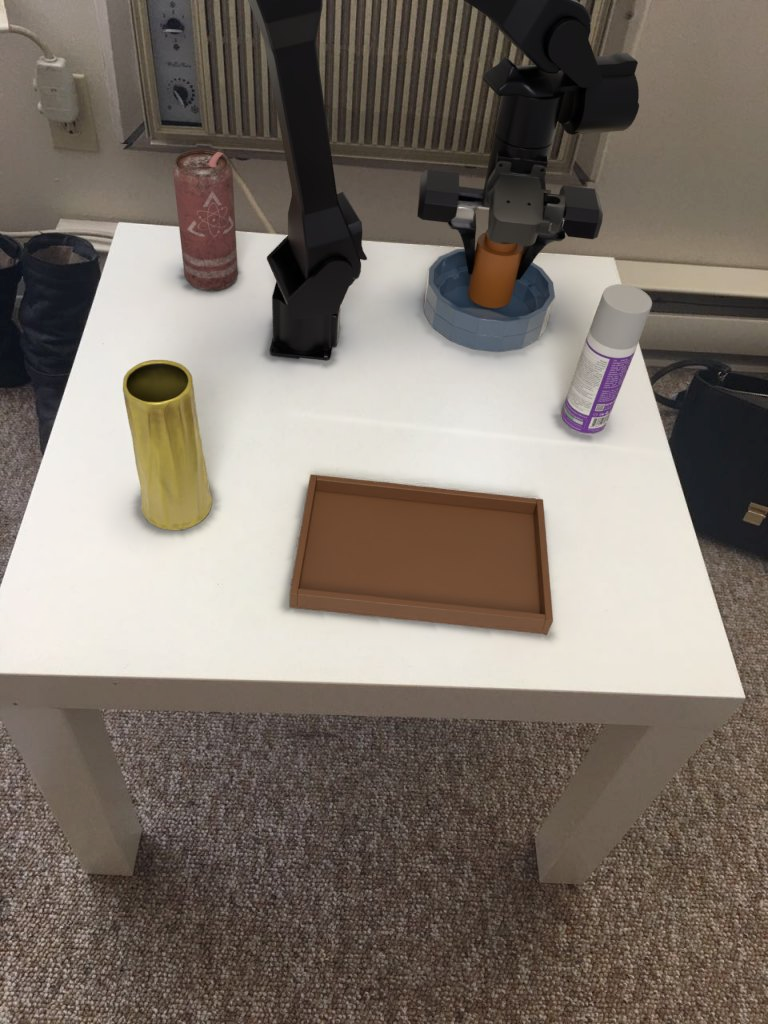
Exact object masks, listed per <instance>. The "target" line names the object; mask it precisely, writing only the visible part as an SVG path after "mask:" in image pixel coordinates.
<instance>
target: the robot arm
mask: <svg viewBox="0 0 768 1024" xmlns="http://www.w3.org/2000/svg"><path fill="white" fill-rule="evenodd" d="M247 1H248V4H249V6H250V7H249V8H250V9H251V11H252V14H253V17H254V19H255V21H256V24H257V26H258V29H259V32H260V33H261V36H262V39H263V44H264V51H265V55H266V60H267V61H266V62H267V66H268V71H269V77H270V82H271V86H272V92H273V98H274V103H275V109H276V112H277V119H278V124H279V129H280V134H281V139H282V145H283V151H284V156H285V162H286V167H287V172H288V178H289V182H290V183H289V184H290V188H291V198H290V202H289V206H288V211H287V236H285V237H284V239H283V240H282V241H280V242H279V243H278V244H277V245H276V246H275V248H274V249H272V250H271V252H270V253H268V255H267V256H266V261H267V264H268V266H269V268H270V270H271V273H272V275H273V277H274V279H275V284H274V288H273V291H272V296H271V315H272V317H271V318H272V321H271V322H272V324H271V325H272V339H271V343H270V347H269V355H270V356H273V357H281V358H289V359H298V360H299V359H308V360H315V361H316V360H317V361H326V362H328V361H329V360H331V358H332V352H333V348H336V347H337V346H338V340H339V335H340V323H341V322H340V321H341V306H342V303H343V302H344V299H345V297H346V295H347V292H348V290H349V288H350V287H351V286H352V285H353V284H354V282H355V281H356V280H358V279H359V278H360V275H361V272H362V262H361V261H367V260H368V257H367V254H366V253H365V251H364V249H363V242H362V241H363V223H362V220H361V219H360V217H359V215H358V214H357V212H356V211H355V208H354V207H353V205H352V204H351V202H350V201H349V198H348V196H347V195H346V194H345V191H341V192H339V193H338V191H337V186H336V179H335V172H334V171H335V170H334V164H333V163H334V162H333V156H332V149H331V142H330V135H329V127H328V122H327V114H326V113H327V112H326V107H325V100H324V99H325V98H324V93H323V85H322V79H321V78H322V77H321V71H320V63H319V57H318V51H317V37H318V32H319V27H320V22H321V18H322V12H323V7H324V5H323V4H324V3H323V1H324V0H247ZM463 2H466V3H467V4H468V5H470V6H472V8H475V9H476V10H477V11H479V12H481V13H482V14H484V15H485V16H486V17H487V19H488V20H489V21H490V22H491V23H492V24H493V25H494V26H495V27H496V28H497V29H498V30H499V31H500V32H501V33H502V35H504V37H505V38H507V40H508V41H509V42H510V43H511V44H512V45H513V46H514V47H516V48H517V50H519V52H521V53H522V54H523V55H524V56H525V57H527V59H528V60H529V61H531V63H532V64H530V65H529V64H528V65H516V64H515V63H513V61H512V60H510V59H509V57H507V56H504V57H502V58H501V60H500V61H499V62H498V63H497V64H496V65H494V66H492V67H491V68H489V69H488V70H487V71H486V72H485V73H483V75H482V80H483V82H484V83H485V84H486V85H487V86H488V87H489V88H490V89H491V90H492V91H493V92H494V93H495V94H496V95H497V96H498V97H500V102H499V106H498V112H497V117H496V122H495V129H494V132H493V138H492V144H491V149H490V152H489V153H490V154H489V159H488V164H487V170H486V175H485V181H484V185H483V188H476V187H469V186H468V187H467V186H460V172H453V171H447V170H437V169H428V168H427V169H426V170H425V171H424V172H423V173H422V174H421V175H420V182H419V189H418V191H419V192H418V199H417V200H418V202H417V212H416V213H417V214H416V217H417V218H419V219H420V220H422V221H430V222H439V223H446V224H447V227H448V228H449V229H451V230H456V231H457V232H458V233H459V235H460V237H461V241H462V244H463V249H464V250H465V256H466V262H467V268H468V274H471V275H472V272H473V268H474V258H475V247H476V235H477V210H484V211H488V218H487V219H488V220H487V221H488V223H487V229H488V232H487V234H488V237H489V239H490V240H491V241H493V242H496V243H503V242H507V243H515V244H520V245H522V246H524V248H523V252H522V256H521V261H520V265H519V269H518V273H517V277H516V280H520V279H521V277H522V276H523V275H524V273H525V272H526V270H527V269H528V267H529V266H530V265H531V263H532V262H533V263H534V260H535V259H536V258H537V256H538V255H539V254H540V253H541V252H542V251H543V250H544V248H545V247H546V246H547V245H550V244H551V243H555V242H563V241H564V240H565V239H566V237H569V238H577V239H583V240H584V239H586V240H595V239H597V238H598V237H599V234H600V231H601V227H602V224H603V219H604V218H603V217H604V214H603V208H602V203H601V200H600V195H599V193H598V192H597V190H596V188H592V187H591V188H590V187H584V186H583V187H582V186H574V185H566V184H563V185H562V186H561V187H560V190H559V193H552V190H550V189H547V187H546V186H547V185H546V174H547V168H548V163H549V159H550V155H551V150H552V146H553V142H554V138H555V134H556V130H557V125H558V124H560V125H561V127H562V128H563V130H564V131H565V132H566V134H568V135H570V136H571V135H573V136H574V135H584V134H585V135H586V134H597V133H599V134H600V133H610V132H624V131H626V130H628V129H629V128H630V127H631V126H632V125H633V123H634V121H635V120H636V117H637V116H638V113H639V109H640V102H639V97H640V96H639V95H640V91H639V82H638V79H637V76H636V71H637V68H638V64H639V62H638V60H637V59H636V58H634V57H633V56H632V55H631V54H629V53H628V52H618V53H613V54H611V55H600V56H597V55H595V53H594V50H593V47H592V45H591V43H590V39H589V38H590V36H591V35H590V34H591V29H592V28H591V23H592V21H593V20H592V16H591V14H590V12H589V11H588V9H587V8H586V7H585V6H584V5H583V4H582V3H581V2H579V1H578V0H463Z"/></svg>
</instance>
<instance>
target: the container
mask: <svg viewBox="0 0 768 1024" xmlns="http://www.w3.org/2000/svg"><path fill="white" fill-rule="evenodd" d="M652 306H653V301H652V298H651V297H650V295H648V293H646V292H645V291H644V290H642V289H641V288H639V287H636V286H633V285H629V284H623V283H617V284H611V285H608V286H607V287H606V288H604V289H603V291H602V293H601V296H600V300H599V302H598V305H597V308H596V311H595V313H594V316H593V319H592V321H591V324H590V327H589V328H588V332H587V335H586V338H585V341H584V344H583V347H582V349H581V352H580V354H579V355H580V356H579V359H578V361H577V365H576V368H575V371H574V373H573V377H572V380H571V382H570V385H569V389H568V391H567V394H566V397H565V400H564V404H563V407H562V410H561V413H560V419H561V421H562V423H563V424H564V425H565V426H566V427H567V429H569V430H571V431H573V432H574V433H577V434H581V435H586V436H587V435H589V436H590V435H596V434H599V433H601V432H602V431H604V429H605V428H606V426H607V423H608V421H609V418H610V416H611V414H612V411H613V408H614V405H615V404H616V401H617V398H618V396H619V393H620V390H621V388H622V385H623V383H624V381H625V378H626V375H627V373H628V371H629V368H630V365H631V363H632V361H633V358H634V355H635V353H636V350H637V347H638V344H639V342H640V339H641V337H642V334H643V331H644V328H645V326H646V322H647V320H648V317H649V315H650V312H651V310H652Z"/></svg>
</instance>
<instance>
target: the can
mask: <svg viewBox="0 0 768 1024" xmlns="http://www.w3.org/2000/svg"><path fill="white" fill-rule="evenodd" d="M174 161H175V163H174V165H173V166H172V174H173V183H174V192H175V202H176V210H177V219H178V220H177V221H178V230H179V239H180V247H181V256H182V257H181V258H182V266H183V274H184V278H185V280H186V281H187V282H188V283H189V284H190V286H192V287H193V288H195V289H196V290H199V291H203V292H204V291H205V292H219V291H223V290H226V289H228V288H230V287H231V286H232V285H233V284H235V281H236V280H237V279H238V275H239V272H238V271H239V270H238V268H239V267H238V251H237V249H238V248H237V233H236V232H237V231H236V230H237V229H236V214H235V213H236V211H235V195H234V194H235V193H234V177H233V175H234V174H233V168H232V166H231V164H230V163H229V159H228V158H227V157H226V156H225V154H224V153H223V152H221V151H214V150H210V149H193V150H188V151H185V152H182V153H181V154H179V155H178V156H177V157H176V159H175V160H174Z"/></svg>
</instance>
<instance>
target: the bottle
mask: <svg viewBox="0 0 768 1024" xmlns="http://www.w3.org/2000/svg"><path fill="white" fill-rule="evenodd" d="M487 232H488V228H487V230H485V232H483V233H481V234H479V236H478V238H477V241H476V245H475V247H476V251H475V258H474V268H473V272H472V275H471V277H470V283H469V288H468V296H469V298H470V299H471V300H472V301H473V302H474V303H476V304H478V305H480V306H483V307H487V308H500V307H504V306H506V305H507V304H509V303H510V301H511V298H512V294H513V290H514V285H515V281H516V277H517V273H518V269H519V265H520V261H521V256H522V252H523V248H524V246H522V245H520V244H515V243H507V242H503V243H496V242H493V241H491V240H490V239H489V237H488V234H487Z"/></svg>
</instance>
